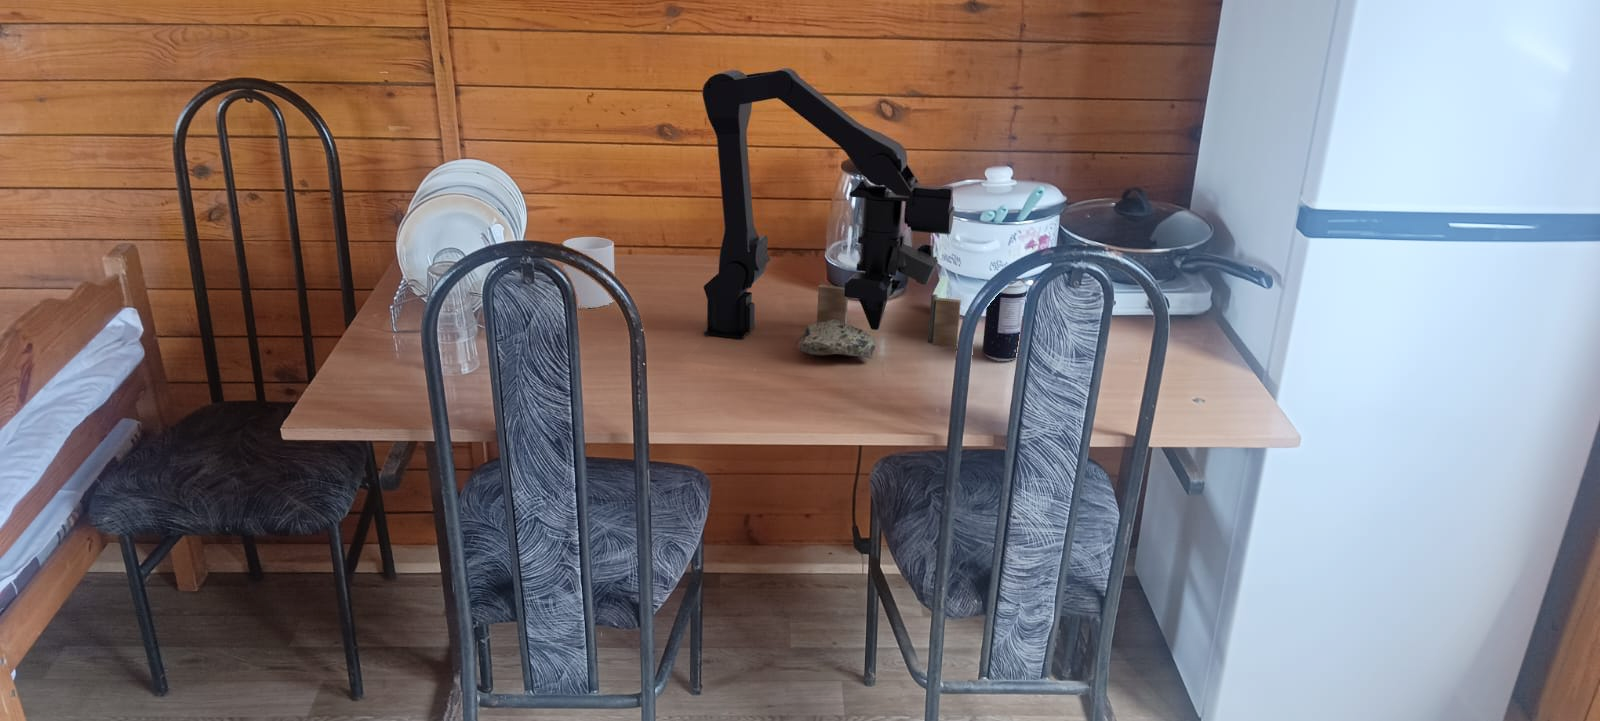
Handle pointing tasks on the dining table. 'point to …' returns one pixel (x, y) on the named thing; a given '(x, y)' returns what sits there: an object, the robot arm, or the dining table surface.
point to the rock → (836, 340)
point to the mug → (584, 285)
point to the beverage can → (1004, 323)
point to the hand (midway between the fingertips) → (875, 329)
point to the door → (941, 287)
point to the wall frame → (941, 313)
